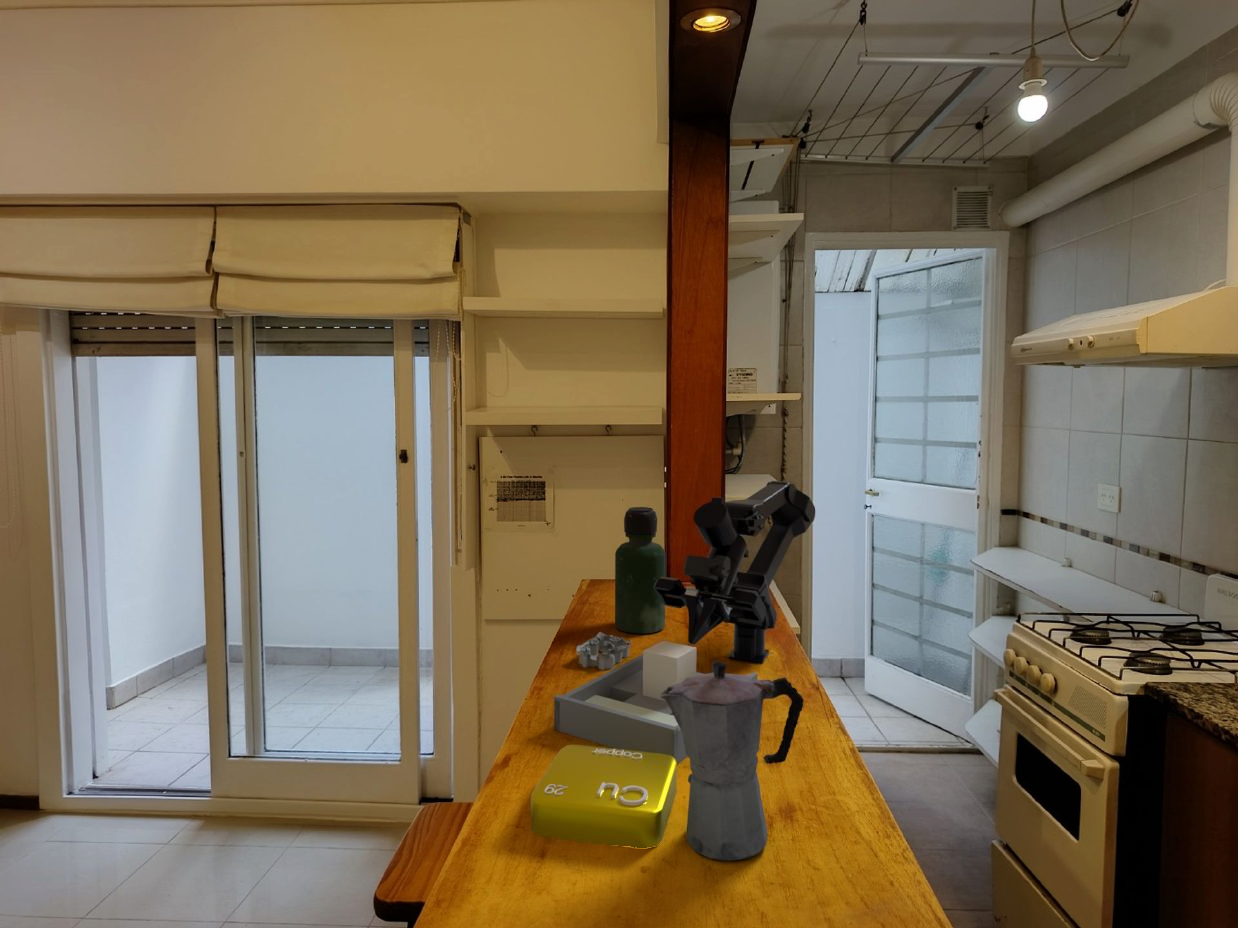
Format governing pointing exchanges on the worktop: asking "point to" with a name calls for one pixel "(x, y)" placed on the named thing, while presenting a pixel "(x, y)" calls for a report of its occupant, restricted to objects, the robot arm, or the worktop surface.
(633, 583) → the green capped bottle
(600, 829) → the element tile
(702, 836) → the moka pot
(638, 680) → the gray open tray
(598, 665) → the egg carton
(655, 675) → the cream block
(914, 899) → the worktop surface
